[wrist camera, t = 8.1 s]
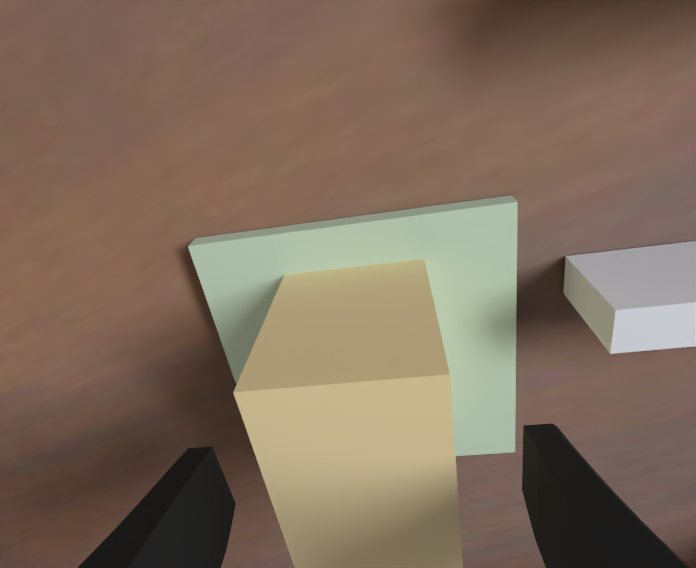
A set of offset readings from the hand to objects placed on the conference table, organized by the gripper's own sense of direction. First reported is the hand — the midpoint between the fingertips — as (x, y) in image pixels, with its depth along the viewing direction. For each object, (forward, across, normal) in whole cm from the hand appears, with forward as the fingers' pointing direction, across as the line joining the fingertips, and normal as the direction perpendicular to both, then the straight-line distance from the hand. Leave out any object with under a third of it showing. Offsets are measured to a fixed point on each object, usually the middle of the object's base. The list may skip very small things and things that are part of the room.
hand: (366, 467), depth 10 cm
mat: (+5, 0, 0) cm, 5 cm away
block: (+4, 0, 0) cm, 4 cm away
